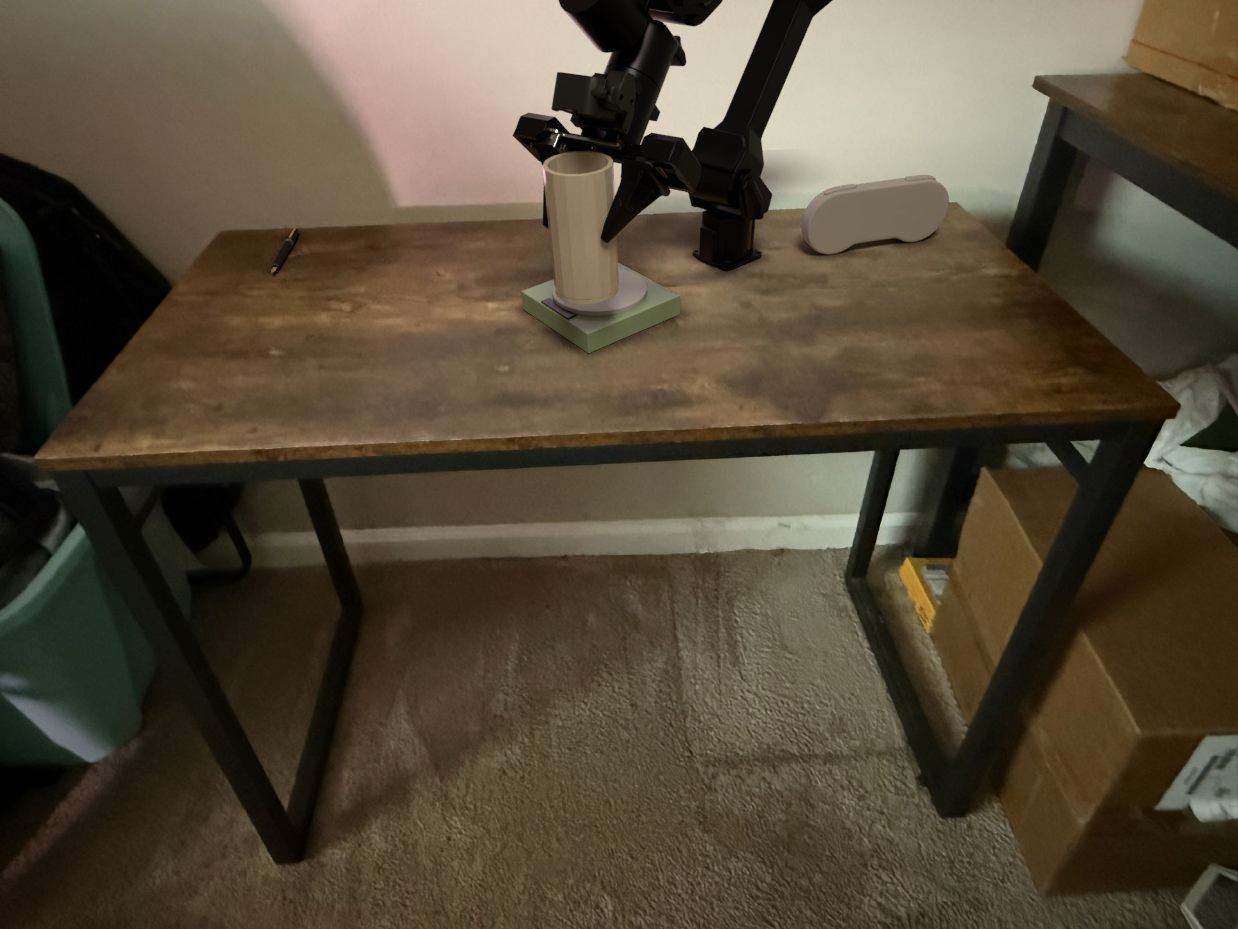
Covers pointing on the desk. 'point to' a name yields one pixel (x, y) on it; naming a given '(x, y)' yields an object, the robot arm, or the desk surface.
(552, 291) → the scale
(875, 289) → the desk surface
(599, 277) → the cup
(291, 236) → the fountain pen
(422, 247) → the desk surface
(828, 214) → the game controller
